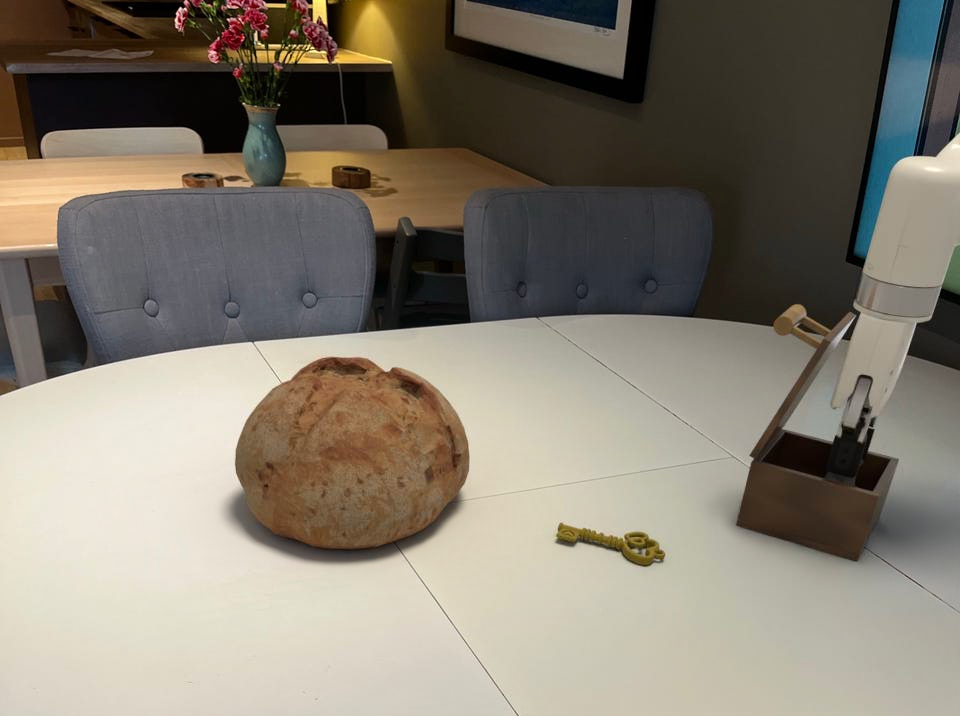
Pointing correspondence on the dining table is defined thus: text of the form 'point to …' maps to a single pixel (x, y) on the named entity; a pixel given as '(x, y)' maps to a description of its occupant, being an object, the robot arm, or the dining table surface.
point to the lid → (824, 349)
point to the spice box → (814, 496)
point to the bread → (351, 455)
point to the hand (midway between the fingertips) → (845, 465)
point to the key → (616, 542)
